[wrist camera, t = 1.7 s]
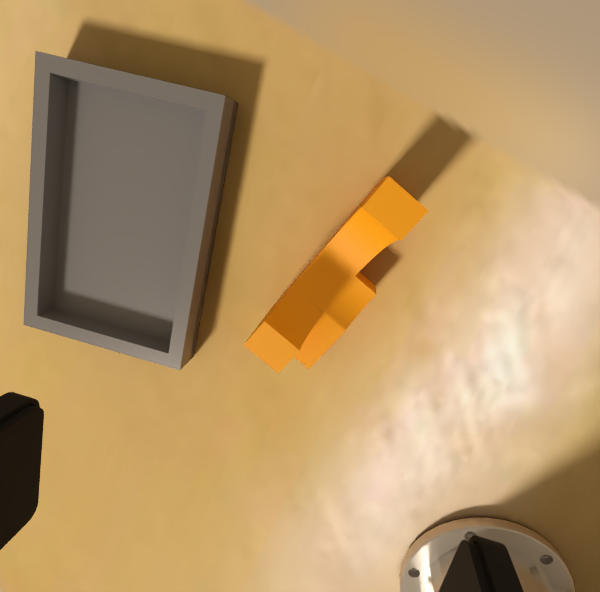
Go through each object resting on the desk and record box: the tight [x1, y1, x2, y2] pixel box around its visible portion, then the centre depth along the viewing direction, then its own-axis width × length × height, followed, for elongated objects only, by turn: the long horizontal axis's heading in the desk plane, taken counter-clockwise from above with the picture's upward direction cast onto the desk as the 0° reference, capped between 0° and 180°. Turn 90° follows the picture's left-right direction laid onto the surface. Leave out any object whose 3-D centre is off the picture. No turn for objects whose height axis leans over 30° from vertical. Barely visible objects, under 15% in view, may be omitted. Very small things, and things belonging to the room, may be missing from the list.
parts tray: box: [24, 51, 238, 370], centre depth 29 cm, size 12×18×2 cm, turn 167°
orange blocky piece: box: [244, 176, 428, 374], centre depth 25 cm, size 12×4×6 cm, turn 141°
